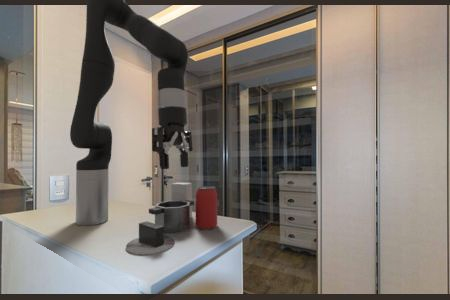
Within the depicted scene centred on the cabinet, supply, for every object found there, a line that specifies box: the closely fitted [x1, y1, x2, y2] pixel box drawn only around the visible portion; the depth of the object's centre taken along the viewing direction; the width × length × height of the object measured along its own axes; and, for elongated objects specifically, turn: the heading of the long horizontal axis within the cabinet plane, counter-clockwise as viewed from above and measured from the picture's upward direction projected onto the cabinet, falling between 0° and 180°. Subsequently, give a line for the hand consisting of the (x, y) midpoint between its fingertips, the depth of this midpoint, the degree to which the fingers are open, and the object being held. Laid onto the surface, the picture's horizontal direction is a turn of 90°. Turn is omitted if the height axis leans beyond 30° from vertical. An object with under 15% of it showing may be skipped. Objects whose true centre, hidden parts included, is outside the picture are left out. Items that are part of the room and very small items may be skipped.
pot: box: [148, 200, 195, 234], centre depth 69 cm, size 10×15×7 cm, turn 143°
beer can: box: [195, 185, 218, 230], centre depth 69 cm, size 7×7×12 cm
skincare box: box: [171, 182, 193, 218], centre depth 80 cm, size 6×4×12 cm
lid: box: [125, 220, 175, 256], centre depth 56 cm, size 11×11×5 cm
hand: (175, 167), depth 61 cm, fingers open, 8 cm apart
